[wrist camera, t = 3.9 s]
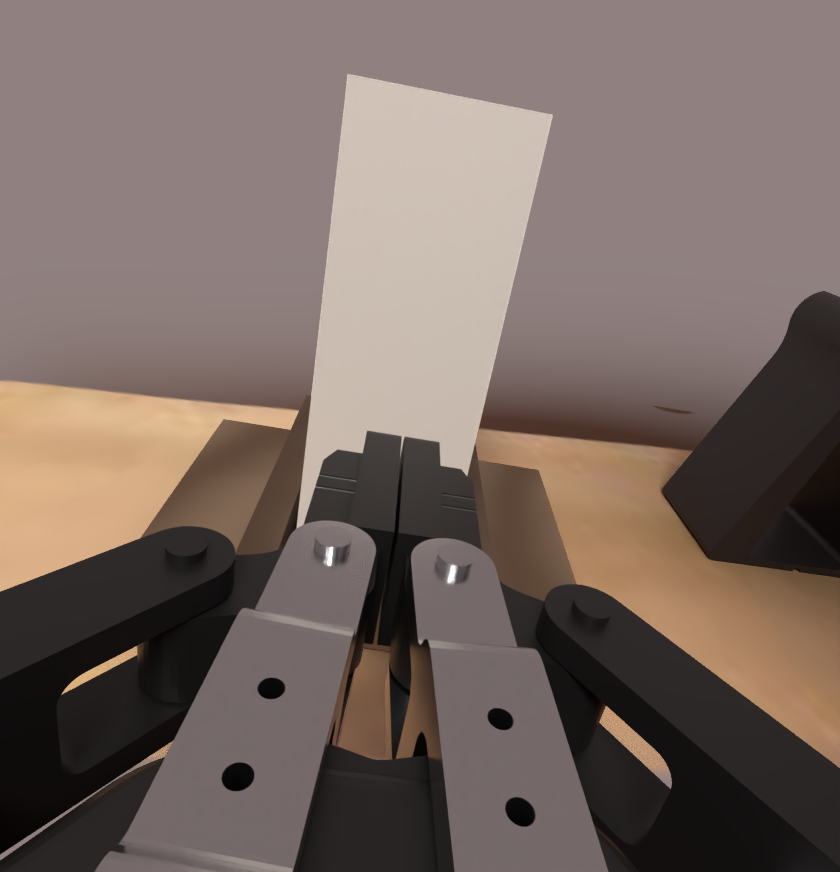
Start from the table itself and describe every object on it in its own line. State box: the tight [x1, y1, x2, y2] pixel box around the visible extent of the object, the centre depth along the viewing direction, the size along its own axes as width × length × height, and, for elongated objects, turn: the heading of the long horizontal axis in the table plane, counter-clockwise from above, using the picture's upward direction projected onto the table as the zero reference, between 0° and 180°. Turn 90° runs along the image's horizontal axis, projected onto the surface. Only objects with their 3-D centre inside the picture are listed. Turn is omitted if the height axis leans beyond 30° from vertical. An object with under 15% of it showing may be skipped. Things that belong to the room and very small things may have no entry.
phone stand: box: [663, 291, 840, 578], centre depth 31 cm, size 9×6×12 cm, turn 91°
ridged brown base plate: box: [141, 395, 576, 651], centre depth 26 cm, size 16×13×3 cm
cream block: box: [296, 74, 553, 529], centre depth 21 cm, size 5×5×15 cm
